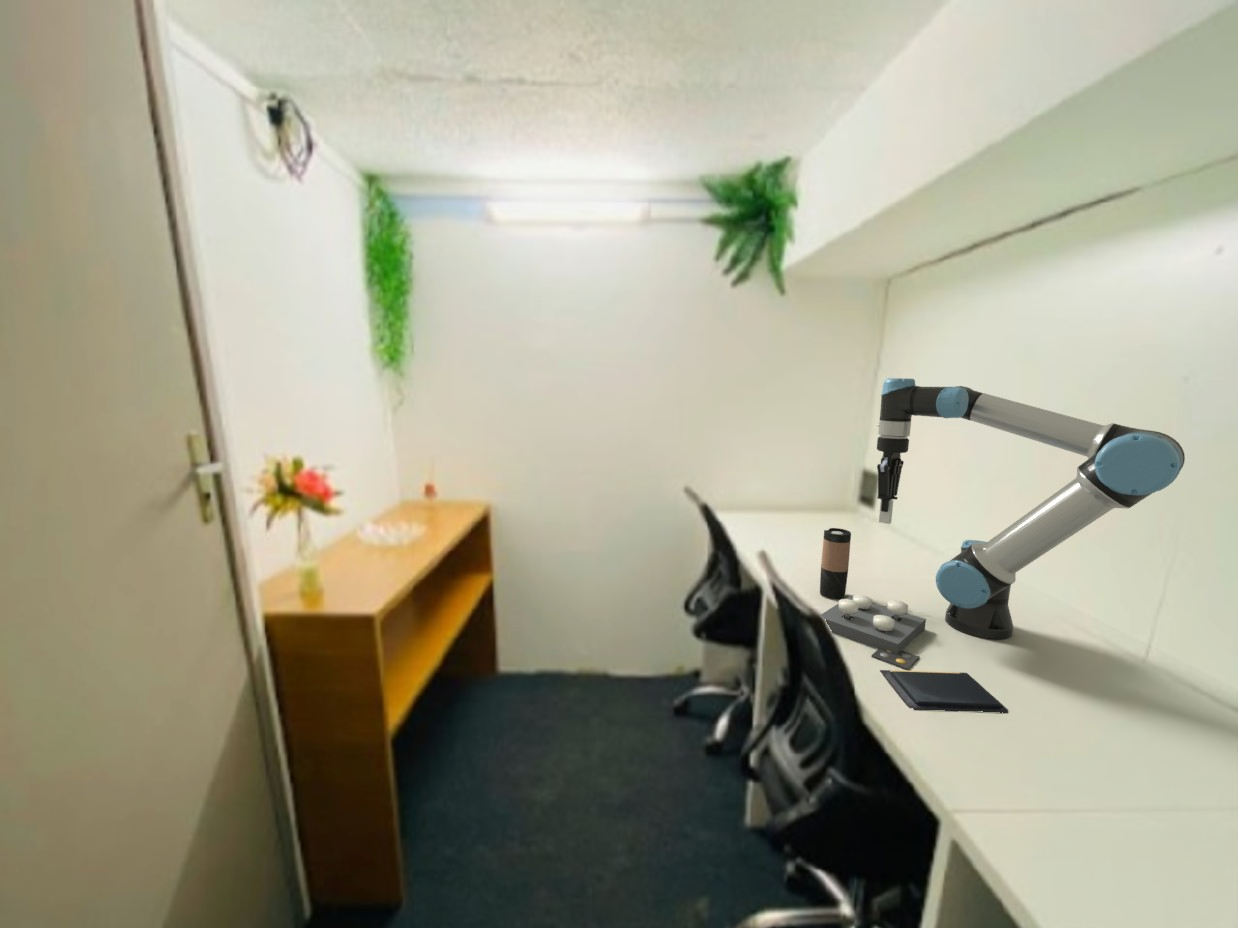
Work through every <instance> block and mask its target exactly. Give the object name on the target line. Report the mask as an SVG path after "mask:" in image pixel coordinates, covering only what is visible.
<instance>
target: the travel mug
mask: <svg viewBox="0 0 1238 928" xmlns="http://www.w3.org/2000/svg"><path fill="white" fill-rule="evenodd" d="M851 538H852V532H851V531H849V530H847V529H843V528H838V527H831V528H830V527H829V528H828V529H824V530H823V541H822V550H821V551H822V552H821V563H820V579H819V594H820V596H822V597H824V598H827V599H830V600H837V601H839V600H841V599H845V597H846V591H847V584H848V583H847V581H848V576H849V575H848V574H849V564H850V552H851V551H850V549H851V540H852V539H851Z"/></svg>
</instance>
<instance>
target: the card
mask: <svg viewBox="0 0 1238 928" xmlns="http://www.w3.org/2000/svg"><path fill="white" fill-rule="evenodd" d="M871 658H873V659H877V660H879V661H882V662H884V663H887V664H890V665H893V666H895V667H897V668H901V669H903V670H904V671H909V669H910V668H912V666H913V665H914V664H915V663H916V662H917V661H918V660H919V659H920V655H917V654H914V653H911V652H909V651H905V650H901V651H900V652H899V653H898V654H895V653H892V652H891V651H888V650H887V651H886V650H884V649H881V648H879V649H876V651H875V652H873V653H872V654H871Z"/></svg>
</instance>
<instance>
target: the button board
mask: <svg viewBox="0 0 1238 928" xmlns="http://www.w3.org/2000/svg"><path fill="white" fill-rule="evenodd" d="M845 599H849V600H853V596H852V595H849V596H848V597H847V598H845ZM838 607H839V602H838V603H837V604H835V605H833V606H832V607H831V608H829V609H827V610H825V612H823V613H821V614H820V615H821V616H822V617H823V618H824V619H826V622H827V624H828V625H829V627H830V629H831V630H832V632H833V633H832V632H831V633H832V634H835V635H838V636H841V637H843V638H846V639H849V640H852V641H854V642H856V643H857V642H858V643H860V644H863V645H865V646H869V647H871V648H873V649H876V650H878V649H879V648H881V649H884V650H886V651H887V650H888V651H891V652H892V653H895V654H898V653H899V652H900V651H901V650H903V651H905V649H906V648H907V647H908V646H909V645H910V644H911V643H913V641H914V640H916V639H917V638H918V637H919V636H920V635H921V634H922V633H923V632H924V631H925V630H926V623H927V619H926V618H924V617H920V616H918V615H914V614H910V613H908V612H907V614H906V615H899V621H897V620H894V621H895V623H894V630H892V631H885V632H884V631H881V630H879V629H877V628H875V627H874V626H873V617H874V616H875V615H884V616H888V617H891V618H892V619H894V614H893V613H890V612H889V611H887V606H884V605H881V604H877V603H874V602H872V607H871V608H870V609H864V610H862V609H859V608H858V613H856V614H850V620H849V619H846V618H845V613H844V612H841V611H840V610H839V609H838Z"/></svg>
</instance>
